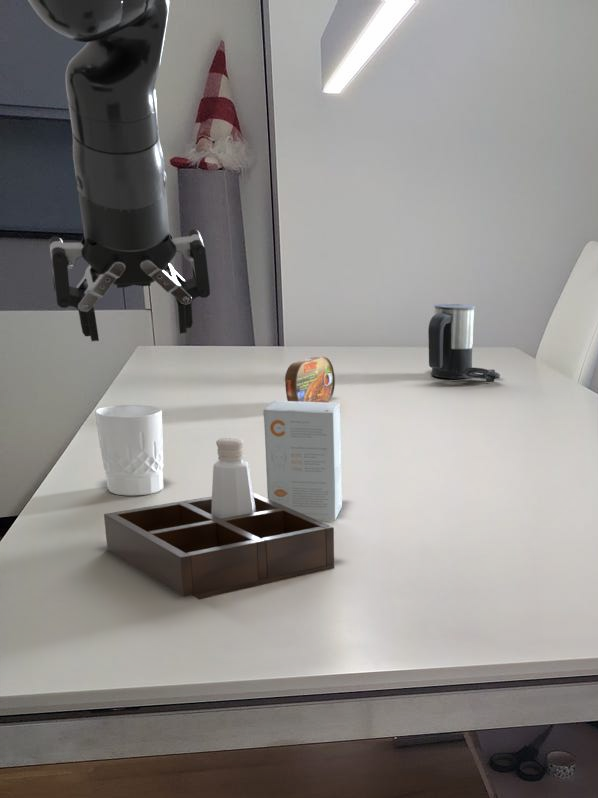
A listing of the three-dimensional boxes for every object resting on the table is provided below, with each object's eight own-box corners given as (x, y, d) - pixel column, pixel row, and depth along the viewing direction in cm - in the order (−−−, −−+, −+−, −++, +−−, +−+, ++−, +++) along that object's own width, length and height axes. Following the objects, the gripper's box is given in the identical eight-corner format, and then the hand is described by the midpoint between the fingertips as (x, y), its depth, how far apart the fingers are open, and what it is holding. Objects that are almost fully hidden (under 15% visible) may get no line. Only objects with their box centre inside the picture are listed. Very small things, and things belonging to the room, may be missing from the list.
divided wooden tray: (184, 602, 97) (180, 557, 95) (107, 555, 108) (103, 513, 107) (334, 568, 108) (334, 527, 106) (250, 528, 119) (248, 490, 117)
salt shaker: (199, 542, 111) (192, 441, 107) (227, 529, 116) (221, 431, 112) (243, 550, 110) (238, 447, 105) (269, 536, 114) (265, 437, 110)
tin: (298, 414, 181) (297, 364, 177) (282, 412, 181) (280, 363, 178) (336, 400, 194) (336, 354, 190) (321, 398, 195) (320, 352, 191)
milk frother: (435, 371, 230) (436, 302, 225) (505, 376, 229) (508, 306, 223) (423, 381, 217) (424, 308, 212) (497, 386, 216) (500, 312, 210)
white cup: (157, 498, 128) (150, 418, 125) (94, 496, 128) (85, 415, 125) (175, 482, 136) (169, 406, 132) (115, 480, 136) (107, 403, 132)
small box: (342, 507, 128) (341, 402, 123) (335, 522, 123) (333, 412, 117) (277, 504, 128) (273, 399, 123) (267, 519, 122) (262, 409, 117)
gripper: (194, 156, 96) (202, 304, 108) (30, 160, 91) (58, 314, 104) (211, 203, 92) (217, 350, 105) (40, 209, 87) (68, 363, 100)
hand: (138, 332), depth 104 cm, fingers open, 8 cm apart
